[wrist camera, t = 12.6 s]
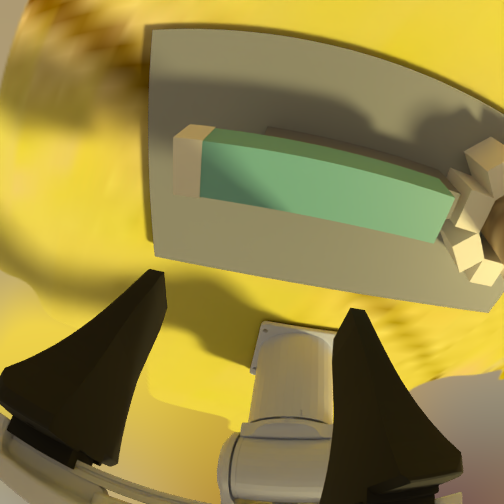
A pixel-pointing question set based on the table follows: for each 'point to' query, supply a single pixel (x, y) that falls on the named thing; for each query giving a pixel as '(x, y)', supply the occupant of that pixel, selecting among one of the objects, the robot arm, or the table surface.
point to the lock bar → (308, 181)
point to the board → (312, 106)
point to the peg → (495, 228)
